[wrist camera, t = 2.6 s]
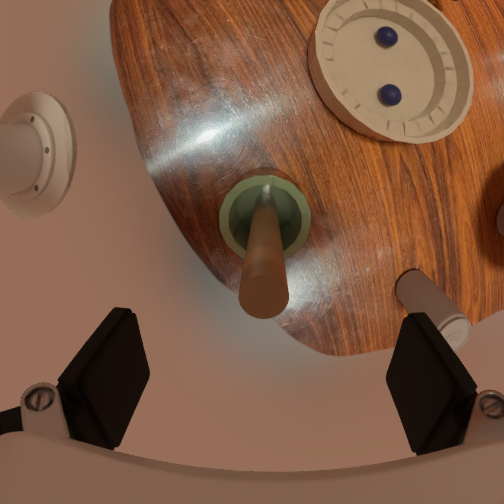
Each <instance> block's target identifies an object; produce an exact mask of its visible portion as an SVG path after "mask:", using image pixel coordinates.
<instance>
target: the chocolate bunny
mask: <svg viewBox="0 0 504 504" xmlns="http://www.w3.org/2000/svg"><path fill="white" fill-rule="evenodd" d="M427 1H428V2H429V3H431V4H432V5H433V4H435V3H436V0H427ZM452 1H458V0H452Z"/></svg>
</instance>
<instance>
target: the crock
mask: <svg viewBox="0 0 504 504" xmlns="http://www.w3.org/2000/svg"><path fill="white" fill-rule="evenodd" d="M261 194H270V195H271V196H273V197H274V199H275V201H276V207H277V214H278V220H279V227H280V234H281V241H282V248H283V255H284V260H285V259H288V258H289V257H291V256H292V255H294V254H295V253H296V252H297V251H298V250H299V249H300V248H301V247H302V246H303V245H304V243H305V241H306V239H307V236H308V234H309V232H310V228H311V211H310V208H309V206H308V203H307V200H306V198H305V196H304V194H303V193H302V191H301V190H300V189H299V187H298V186H297V184H296V183H295V182H294V181H293V180H292V179H291V178H290V177H289V176H288V175H287V174H286V173H284V172H282V171H280V170H277V169H274V168H268V167H262V168H256V169H253V170H251V171H249V172H247V173H245V174H244V175H243V176H241V177H240V178H239V179H238V181H237V182H236V183H235V184H234V185H233V186H232V188H231V189H230V191H229V192H228V193H227V195H226V196H225V198H224V201H223V204H222V206H221V209H220V211H219V223H220V231H221V233H222V236H223V238H224V240H225V242H226V244H227V245H228V247H229V248H231V249H232V250H233V251H234V252H235V253H236V254H237V255H238V256H239V257H241V258H243V259H245V255H246V250H247V244H248V238H249V233H250V227H251V222H252V216H253V211H254V205H255V200H256V198H257V197H258V196H259V195H261Z"/></svg>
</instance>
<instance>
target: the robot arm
mask: <svg viewBox="0 0 504 504" xmlns="http://www.w3.org/2000/svg"><path fill="white" fill-rule="evenodd" d="M54 165H55V141H54V136H53V133H52V130H51V128H50V126H49V124H48V122H47V121H46V120H45V118H43V117H42V116H41V115H40V114H37V113H35V112H23V113H20V114H18V115H16V116H15V117H13V118H12V119H11V120H10V121H9V122H8V124H1V125H0V198H2V197H5V196H8V195H10V196H12V197H13V198H15V199H17V200H20V201H27V200H30V199H33V198H35V197H37V196H38V195H40V194H41V193H42V192H43V191H44V189H45V188H46V187H47V185H48V183H49V181H50V179H51V176H52V173H53V169H54ZM149 376H150V370H149V366H148V362H147V359H146V354H145V351H144V347H143V342H142V338H141V334H140V330H139V325H138V321H137V317H136V314H135V313H132V311H131V309H129V308H119V307H115V308H113V309H112V311H111V312H110V313H109V314H108V315H107V317H106V318H105V319H104V320H103V322H102V323H101V324H100V326H99V327H98V328H97V329H96V330H95V332H94V333H93V334H92V335H91V337H90V338H89V339H88V340H87V342H86V343H85V344H84V345H83V347H82V348H81V349H80V351H79V352H78V353H77V355H76V356H75V357H74V358H73V360H72V361H71V362H70V364H69V365H68V366H67V368H66V369H65V370H64V372H63V373H62V374H61V376H60V377H59V379H58V382H59V383H58V385H57V386H56V387H55V386H54V385H52V384H50V383H37V384H35V385H32V386H31V387H29V388H28V389H26V391H25V392H24V393H23V395H22V397H21V402H20V405H21V406H19V407H15V408H12V409H9V410H6V411H2V412H0V504H504V395H503V394H501V393H499V392H497V391H494V390H484V391H482V392H480V393H479V394H478V393H477V392H476V388H477V385H476V383H475V382H474V380H473V379H472V377H471V376H470V374H469V373H468V371H467V370H466V368H465V367H464V365H463V364H462V362H461V361H460V359H459V358H458V357H457V355H456V354H455V352H454V351H453V349H452V348H451V347H450V345H449V344H448V342H447V341H446V340H445V338H444V337H443V335H442V334H441V333H440V331H439V330H438V329H437V327H436V326H435V325H434V323H433V322H432V321H431V319H430V318H429V317H428V315H427V314H426V313H425V312H416V313H409V314H408V316H407V317H405V318H404V319H403V322H402V326H401V329H400V333H399V336H398V340H397V343H396V346H395V349H394V353H393V356H392V359H391V362H390V365H389V368H388V371H387V374H386V382H387V385H388V388H389V390H390V393H391V395H392V398H393V401H394V403H395V406H396V408H397V411H398V414H399V416H400V419H401V422H402V425H403V427H404V430H405V433H406V436H407V439H408V442H409V445H410V447H411V450H412V452H414V453H415V452H416V454H417V456H415V457H410V458H405V459H401V460H396V461H391V462H386V463H379V464H373V465H366V466H360V467H351V468H343V469H332V470H319V471H301V472H300V471H299V472H254V471H235V470H222V469H211V468H202V467H194V466H187V465H180V464H174V463H168V462H162V461H157V460H152V459H147V458H142V457H137V456H134V455H129V454H125V453H121V452H117V451H113V450H114V448H115V447H118V446H119V445H120V443H121V441H122V439H123V436H124V434H125V432H126V429H127V427H128V425H129V422H130V420H131V418H132V416H133V413H134V411H135V409H136V406H137V404H138V402H139V400H140V397H141V395H142V393H143V391H144V389H145V386H146V384H147V382H148V380H149Z"/></svg>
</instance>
